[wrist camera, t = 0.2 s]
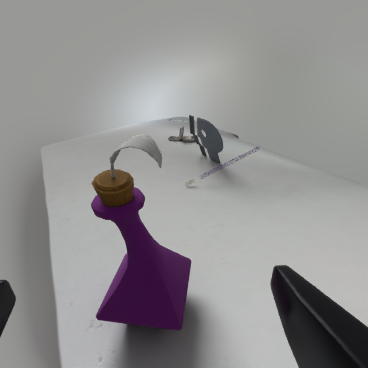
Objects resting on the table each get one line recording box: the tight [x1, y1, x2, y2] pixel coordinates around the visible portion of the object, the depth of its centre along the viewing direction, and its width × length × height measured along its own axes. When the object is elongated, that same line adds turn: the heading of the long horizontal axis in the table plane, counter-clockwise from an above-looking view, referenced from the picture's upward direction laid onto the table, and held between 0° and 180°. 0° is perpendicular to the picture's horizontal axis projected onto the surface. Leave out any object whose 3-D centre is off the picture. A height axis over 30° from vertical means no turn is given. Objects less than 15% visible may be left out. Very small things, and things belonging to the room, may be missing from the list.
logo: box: [185, 115, 260, 186], centre depth 53 cm, size 17×18×11 cm
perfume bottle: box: [91, 134, 191, 330], centre depth 19 cm, size 8×8×18 cm
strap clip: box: [168, 126, 195, 142], centre depth 72 cm, size 8×3×4 cm, turn 75°
